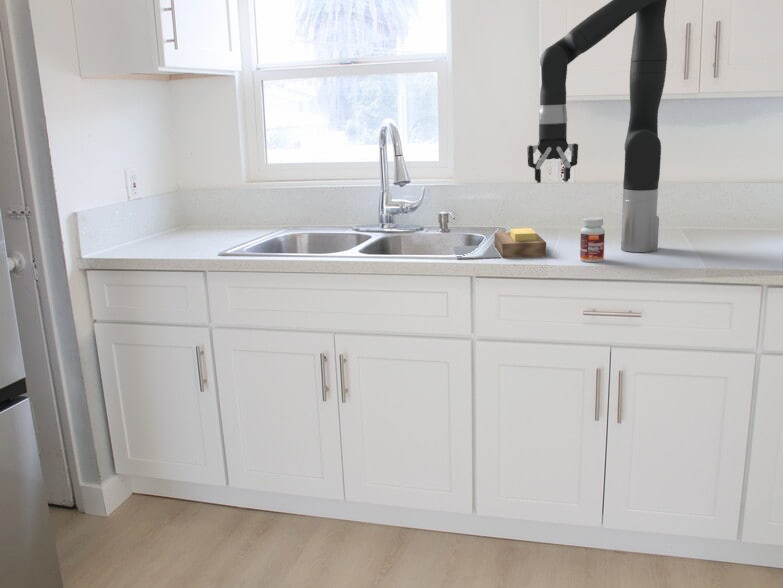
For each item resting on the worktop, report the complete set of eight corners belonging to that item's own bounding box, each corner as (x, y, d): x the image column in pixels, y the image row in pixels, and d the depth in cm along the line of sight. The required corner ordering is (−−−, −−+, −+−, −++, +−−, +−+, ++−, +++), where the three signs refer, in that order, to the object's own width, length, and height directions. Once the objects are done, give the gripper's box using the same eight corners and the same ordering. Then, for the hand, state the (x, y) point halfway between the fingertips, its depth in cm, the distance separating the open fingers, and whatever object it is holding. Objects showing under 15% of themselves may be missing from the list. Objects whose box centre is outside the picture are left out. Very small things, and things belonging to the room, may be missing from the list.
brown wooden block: (534, 244, 225) (534, 231, 224) (545, 256, 208) (546, 242, 207) (494, 245, 225) (494, 232, 224) (502, 257, 208) (502, 243, 207)
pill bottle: (588, 263, 197) (590, 221, 194) (575, 259, 202) (576, 218, 200) (608, 261, 199) (609, 218, 196) (594, 257, 204) (595, 216, 202)
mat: (492, 246, 225) (492, 245, 225) (500, 257, 208) (500, 256, 208) (453, 247, 225) (453, 246, 225) (457, 259, 208) (457, 258, 208)
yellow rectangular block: (531, 234, 219) (531, 228, 218) (536, 240, 210) (536, 233, 209) (510, 235, 219) (510, 228, 218) (515, 241, 210) (515, 234, 210)
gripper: (575, 120, 210) (574, 179, 214) (524, 122, 210) (524, 181, 214) (582, 121, 202) (580, 182, 207) (529, 123, 203) (528, 184, 207)
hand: (552, 181), depth 210 cm, fingers open, 7 cm apart
